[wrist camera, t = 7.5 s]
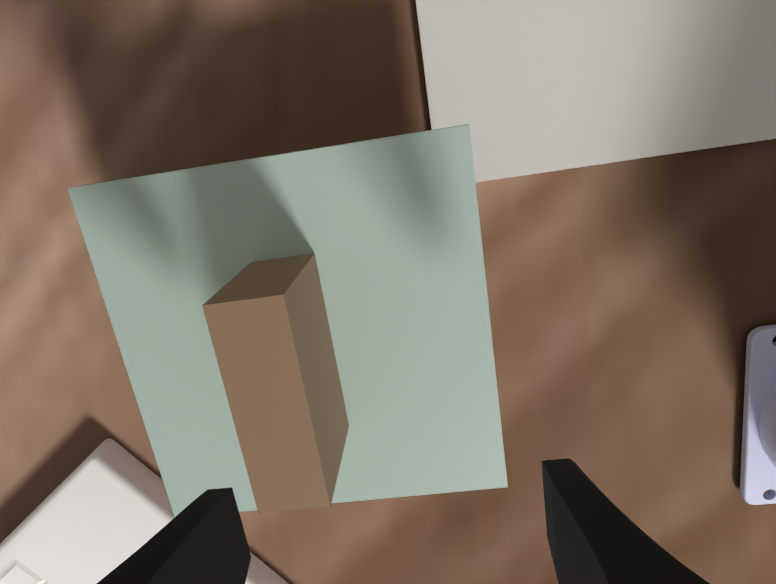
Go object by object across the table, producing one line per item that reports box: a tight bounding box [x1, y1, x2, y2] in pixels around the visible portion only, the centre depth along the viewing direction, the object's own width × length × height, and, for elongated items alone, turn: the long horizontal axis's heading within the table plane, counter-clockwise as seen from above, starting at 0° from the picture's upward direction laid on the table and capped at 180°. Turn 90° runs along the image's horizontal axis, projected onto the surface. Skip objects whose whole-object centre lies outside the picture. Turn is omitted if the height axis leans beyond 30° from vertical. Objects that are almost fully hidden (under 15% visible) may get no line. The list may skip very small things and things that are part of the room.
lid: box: [68, 124, 508, 517], centre depth 16 cm, size 12×12×5 cm
